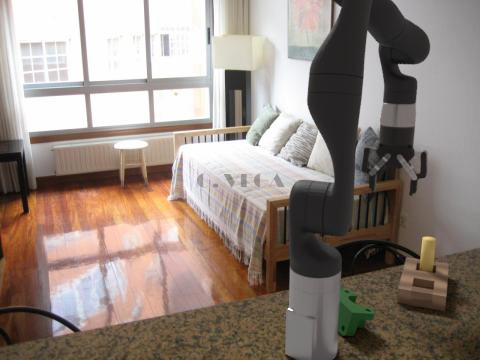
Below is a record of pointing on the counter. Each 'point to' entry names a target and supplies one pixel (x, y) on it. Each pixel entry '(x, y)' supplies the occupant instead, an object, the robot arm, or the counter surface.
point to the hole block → (423, 285)
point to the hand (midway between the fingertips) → (392, 192)
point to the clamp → (352, 313)
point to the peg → (427, 254)
